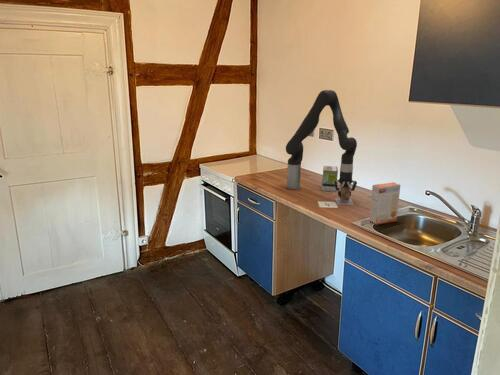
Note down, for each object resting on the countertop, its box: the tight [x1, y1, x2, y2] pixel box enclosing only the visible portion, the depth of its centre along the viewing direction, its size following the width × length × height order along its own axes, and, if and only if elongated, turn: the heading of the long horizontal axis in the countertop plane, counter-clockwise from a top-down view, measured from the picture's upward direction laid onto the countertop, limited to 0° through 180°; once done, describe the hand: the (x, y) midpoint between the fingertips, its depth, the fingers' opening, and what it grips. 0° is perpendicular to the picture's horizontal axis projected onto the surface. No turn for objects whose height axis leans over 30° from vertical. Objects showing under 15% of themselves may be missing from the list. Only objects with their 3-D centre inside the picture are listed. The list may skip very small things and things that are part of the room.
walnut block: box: [338, 186, 351, 201], centre depth 235 cm, size 5×7×8 cm
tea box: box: [321, 165, 339, 192], centre depth 263 cm, size 15×10×15 cm
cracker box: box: [369, 181, 401, 225], centre depth 201 cm, size 14×6×21 cm, turn 111°
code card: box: [317, 201, 339, 209], centre depth 231 cm, size 11×11×1 cm
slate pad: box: [334, 197, 355, 206], centre depth 236 cm, size 10×12×1 cm
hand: (344, 196), depth 235 cm, fingers closed on walnut block, 5 cm apart
